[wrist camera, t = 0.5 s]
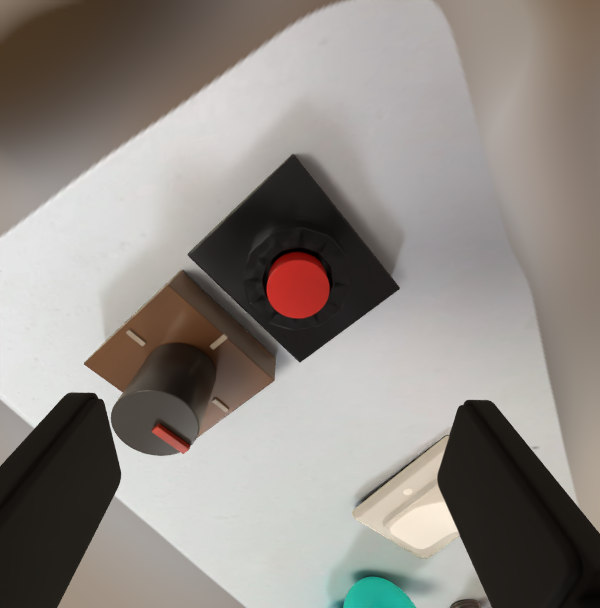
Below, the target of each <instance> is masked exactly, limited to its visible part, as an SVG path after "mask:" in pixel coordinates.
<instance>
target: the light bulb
mask: <svg viewBox="0 0 600 608" xmlns="http://www.w3.org/2000/svg"><path fill="white" fill-rule="evenodd" d="M451 608H481V606H480V603H479V602H477V601H474V600H464V601H460V602H457V603H455V604H454V605H453V606H452V607H451Z"/></svg>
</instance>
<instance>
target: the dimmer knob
mask: <svg viewBox="0 0 600 608" xmlns="http://www.w3.org/2000/svg"><path fill="white" fill-rule="evenodd" d="M215 381H216V371H215V368H214V365H213V363H212V362H211V360H210V359H209V358H208V356H207V355H206V354H204V353H203V352H202V351H200V350H199V349H197V348H195V347H193V346H190V345H186V344H180V343H172V344H166V345H163V346H160V347H158V348H156V349H155V350H154V351H152V352H151V353H150V354H149V356H148V357H147V359H146V360H145V362H144V363H143V364H142V366H141V367H140V369H139V370H138V372H137V373H136V375H135V376H134V378H133V379H132V380H131V382H130V383H129V385H128V386H127V388H126V389H125V391H124V392H123V393H122V395H121V396H120V398H119V399H118V401H117V402H116V404H115V405H114V407H113V409H112V413H111V423H112V427H113V429H114V431H115V433H116V434H117V436H118V437H119V438H120V439H121V440H122V441H123V442H124V443H125V444H127V445H128V446H130V447H131V448H133V449H135V450H137V451H140V452H142V453H146V454H150V455H158V456H165V455H172V454H176V453H179V452H181V453H183V454H184V453H185V452H186V451H188V450H189V449H190V446H191V445H192V444H193V443H194V441H195V440H196V438H197V436H198V434H199V431H200V428H201V425H202V422H203V418H204V415H205V412H206V409H207V406H208V403H209V400H210V397H211V394H212V391H213V387H214V384H215Z"/></svg>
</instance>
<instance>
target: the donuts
mask: <svg viewBox="0 0 600 608" xmlns="http://www.w3.org/2000/svg"><path fill="white" fill-rule="evenodd" d="M343 608H416V607H415V605H414V604H413V602H412V601H411V600H410V598H409V597H408V596H407V595H406V594H405V593H404V592H403V591H402V590H401V589H400V588H399V587H398V586H396V585H395V584H393V583H392V582H390V581H388V580H386V579H383V578H380V577H366V578H363V579H361V580H359V581H357V582H356V583H355V584H354V585H353V586H352V587H351V589H350V590H349V592H348V594H347V596H346V599H345V602H344V606H343Z"/></svg>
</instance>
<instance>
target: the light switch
mask: <svg viewBox="0 0 600 608" xmlns="http://www.w3.org/2000/svg"><path fill="white" fill-rule="evenodd" d="M448 439H449V436H448V435H447V436H445V437H444V438H443V439H441V440H440V441H439V442H438V443H436V444H435V445H434V446H433V447H431V448H430V449H429V450H428V451H426V452H425V453H424V454H423V455H421V456H420V457H419V458H418V459H416V460H415V461H414V462H413V463H411V464H410V465H409V466H408V467H406V468H405V469H404V470H403V471H401V472H400V473H399V474H398V475H396V476H395V477H394V478H393V479H391V480H390V481H389V482H388V483H386V484H385V485H384V486H383V487H381V488H380V489H379V490H378V491H376V492H375V493H374V494H373V495H371V496H370V497H369V498H368V499H366V500H365V501H364V502H363V503H361V504H360V505H359V506H358V507H356V508H355V509H354V510H353V511H352V514H353V517H354V518H355V519H356V520H358V521H359V522H361V523H363V524H364V525H366V526H368V527H369V528H371V529H373V530H374V531H376V532H378V533H379V534H381V535H383V536H384V537H386V538H388V539H389V540H391V541H393V542H394V543H396V544H398V545H399V546H401V547H403V548H404V549H406V550H408V551H409V552H411V553H413V554H414V555H416V556H418V557H419V558H425V559H427V558H429V557H430V556H432V555H433V554H434V553H436V552H437V551H439V550H440V549H442V548H443V547H444V546H446V545H447V544H449V543H450V542H452V541H453V540H454V539H456V538H457V537H459V536H460V534H459V532H458V530H457V528H456V525H455V523H454V521H453V519H452V516H451V514H450V512H449V510H448V507H447V505H446V503H445V501H444V498H443V496H442V494H441V492H440V489H439V487H438V482H437V475H438V471H439V468H440V464H441V461H442V458H443V455H444V452H445V448H446V445H447V442H448Z"/></svg>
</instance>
